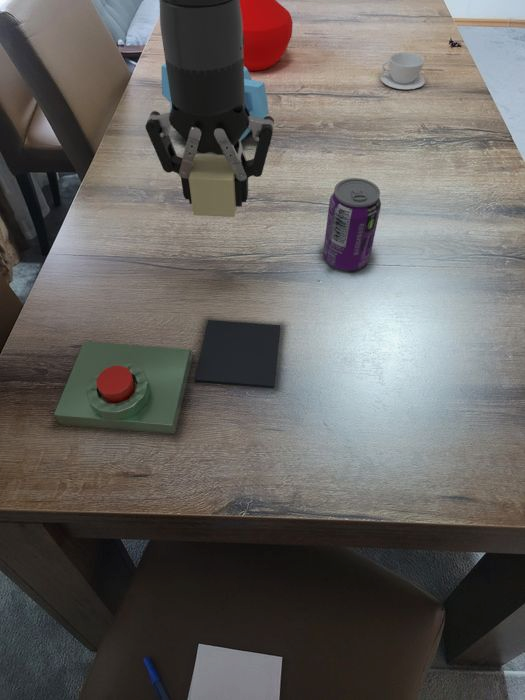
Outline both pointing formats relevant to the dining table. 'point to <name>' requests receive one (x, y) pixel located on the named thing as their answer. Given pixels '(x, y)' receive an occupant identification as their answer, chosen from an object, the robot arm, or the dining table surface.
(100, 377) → the switch
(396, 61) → the teacup
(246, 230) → the dining table surface
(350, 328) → the dining table surface
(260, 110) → the teapot
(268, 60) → the vase
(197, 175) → the block
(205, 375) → the mat
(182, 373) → the switch base
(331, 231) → the beverage can
